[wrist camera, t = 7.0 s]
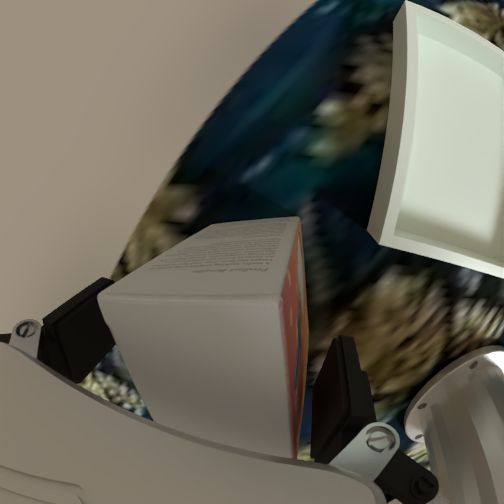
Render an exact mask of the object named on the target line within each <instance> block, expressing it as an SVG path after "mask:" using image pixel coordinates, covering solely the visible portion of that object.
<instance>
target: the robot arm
mask: <svg viewBox="0 0 504 504" xmlns="http://www.w3.org/2000/svg"><path fill="white" fill-rule="evenodd" d="M114 283H115V282H114V281H113V280H110V279H107V278H104V277H102V278H100V279H98V280H97V281H96V282H94V283H92V284H91V285H89V286H88V287H87V288H85V289H84V290H82V291H81V292H79V293H78V294H76V295H75V296H74V297H72V298H71V299H69V300H68V301H66V302H65V303H64V304H62V305H61V306H59V307H58V308H57V309H55V310H54V311H53V312H51V313H50V314H48V315H47V316H46V317H44V318H43V319H42V320H43V324H44V325H43V326H42V327H41V325H40V323H39V322H38V321H36V320H33V319H27V320H23V321H20V322H19V323H17V324H16V325H15V327H14V329H13V331H12V333H10V334H0V504H504V347H503V346H499V345H491V346H485V347H482V348H479V349H476V350H473V351H471V352H469V353H467V354H465V355H463V356H461V357H460V358H458V359H457V360H455V361H454V362H452V363H450V364H449V365H448V366H446V367H445V368H444V369H442V370H441V371H440V372H438V373H437V374H436V375H435V376H434V377H433V378H432V379H430V380H429V381H428V382H427V383H426V384H425V385H424V386H423V387H422V389H421V390H420V391H419V392H418V393H417V394H416V396H415V397H414V398H413V400H412V401H411V403H410V404H409V406H408V408H407V410H406V413H405V416H404V427H405V431H406V434H407V435H408V437H409V438H410V439H412V440H413V441H416V442H420V443H425V445H426V449H427V454H428V458H429V463H430V468H431V472H430V471H428V470H427V469H426V468H424V467H423V466H421V465H420V464H418V463H417V462H416V461H414V460H413V459H411V458H410V457H409V456H407V455H406V454H404V453H403V452H402V451H400V450H399V449H398V447H399V445H400V439H399V435H398V433H397V432H396V430H395V429H393V428H392V427H391V426H389V425H387V424H385V423H380V422H377V421H376V415H375V410H374V404H373V399H372V394H371V389H370V384H369V380H368V375H367V373H366V372H365V371H361V368H360V363H359V359H358V354H357V349H356V345H355V341H354V338H353V337H348V336H342V335H340V336H339V337H338V339H337V338H334V339H333V341H332V343H331V346H330V348H329V351H328V353H327V356H326V358H325V360H324V363H323V365H322V368H321V370H320V372H319V375H318V377H317V379H316V381H315V384H314V387H313V399H312V431H311V451H310V457H311V458H314V459H315V460H314V462H311V461H304V460H298V459H292V458H286V457H280V456H274V455H268V454H263V453H258V452H253V451H249V450H244V449H240V448H236V447H231V446H227V445H223V444H220V443H216V442H212V441H209V440H205V439H202V438H199V437H195V436H192V435H189V434H186V433H183V432H180V431H177V430H174V429H172V428H169V427H166V426H164V425H161V424H158V423H156V422H153V421H151V420H148V419H146V418H143V417H141V416H139V415H136V414H134V413H132V412H130V411H127V410H125V409H123V408H121V407H119V406H117V405H115V404H113V403H111V402H109V401H107V400H105V399H103V398H101V397H99V396H97V395H95V394H93V393H91V392H90V391H88V390H86V389H84V388H82V387H81V386H79V385H77V383H81V382H82V381H83V380H84V379H85V377H86V376H87V375H88V374H89V373H90V372H91V371H92V370H93V369H94V367H95V366H96V365H97V364H98V363H99V362H100V361H101V360H102V359H103V358H104V357H105V355H106V354H107V353H108V352H109V351H110V350H111V349H112V348H113V347H114V346H115V345H116V343H115V340H114V338H113V336H112V333H111V331H110V328H109V326H108V325H107V324H106V322H105V320H104V317H103V315H102V312H101V309H100V307H99V304H98V300H97V296H98V294H99V293H100V292H101V291H103V290H105V289H106V288H108V287H109V286H111V285H112V284H114Z"/></svg>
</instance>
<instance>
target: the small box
mask: <svg viewBox="0 0 504 504" xmlns="http://www.w3.org/2000/svg"><path fill="white" fill-rule="evenodd" d="M97 300H98V304H99V307H100V309H101V312H102V315H103V317H104V320H105V322H106V324H107V325H108V326H109V328H110V331H111V333H112V336H113V338H114V340H115V343H116V345H117V348H118V350H119V352H120V355H121V357H122V359H123V361H124V363H125V365H126V368H127V370H128V372H129V374H130V376H131V378H132V380H133V382H134V384H135V386H136V388H137V390H138V392H139V394H140V396H141V398H142V400H143V402H144V404H145V406H146V408H147V409H148V411H149V413H150V415H151V417H152V418H153V420H154V422H156V423H158V424H161V425H164V426H166V427H169V428H172V429H174V430H177V431H180V432H183V433H186V434H189V435H192V436H195V437H199V438H202V439H205V440H209V441H212V442H216V443H220V444H223V445H227V446H231V447H236V448H240V449H244V450H249V451H253V452H258V453H263V454H268V455H274V456H280V457H286V458H292V459H297V453H298V445H299V436H300V428H301V420H302V411H303V402H304V393H305V382H306V370H307V357H308V342H309V324H308V313H307V299H306V282H305V266H304V252H303V240H302V229H301V220H300V217H281V218H269V219H258V220H248V221H237V222H227V223H219V224H212V225H210V226H208V227H206V228H205V229H203V230H201V231H199V232H198V233H196V234H194V235H192V236H191V237H189V238H187V239H186V240H184V241H182V242H180V243H179V244H177V245H175V246H174V247H172V248H170V249H169V250H167V251H165V252H164V253H162V254H160V255H159V256H157V257H156V258H154V259H152V260H151V261H149V262H147V263H146V264H144V265H142V266H141V267H139V268H138V269H136V270H134V271H133V272H131V273H130V274H128V275H127V276H125V277H123V278H122V279H120V280H119V281H117V282H116V283H114V284H112V285H111V286H109V287H108V288H106V289H105V290H103V291H101V292H100V293H99V294H98V296H97Z"/></svg>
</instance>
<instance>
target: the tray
mask: <svg viewBox="0 0 504 504" xmlns="http://www.w3.org/2000/svg"><path fill="white" fill-rule="evenodd" d="M367 231H368V232H369V233H370V234H371V236H372V237H373V238H374V239H375V240H376V242H377V243H378V244H379V245H383V246H387V247H392V248H396V249H400V250H403V251H407V252H411V253H415V254H419V255H423V256H427V257H430V258H434V259H438V260H442V261H445V262H449V263H453V264H456V265H460V266H463V267H467V268H470V269H474V270H477V271H481V272H484V273H487V274H491V275H494V276H497V277H501V278H504V51H502V50H501V49H500V48H498V47H497V46H495V45H494V44H492V43H491V42H489V41H488V40H486V39H484V38H483V37H481V36H480V35H478V34H476V33H475V32H473V31H471V30H469V29H468V28H466V27H464V26H462V25H460V24H458V23H457V22H455V21H453V20H451V19H449V18H447V17H445V16H442V15H440V14H438V13H436V12H434V11H431V10H429V9H427V8H424V7H422V6H420V5H417V4H415V3H412V2H409V1H407V0H405V1H404V3H403V5H402V7H401V9H400V10H399V12H398V14H397V16H396V17H395V19H394V21H393V62H392V80H391V93H390V103H389V113H388V121H387V129H386V136H385V143H384V149H383V156H382V161H381V167H380V173H379V178H378V183H377V188H376V193H375V197H374V202H373V207H372V211H371V215H370V219H369V224H368V228H367Z"/></svg>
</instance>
